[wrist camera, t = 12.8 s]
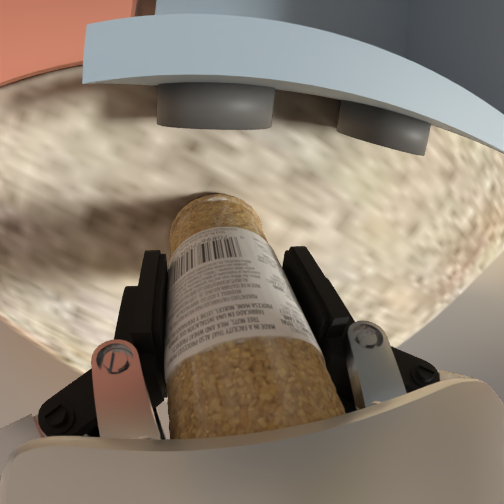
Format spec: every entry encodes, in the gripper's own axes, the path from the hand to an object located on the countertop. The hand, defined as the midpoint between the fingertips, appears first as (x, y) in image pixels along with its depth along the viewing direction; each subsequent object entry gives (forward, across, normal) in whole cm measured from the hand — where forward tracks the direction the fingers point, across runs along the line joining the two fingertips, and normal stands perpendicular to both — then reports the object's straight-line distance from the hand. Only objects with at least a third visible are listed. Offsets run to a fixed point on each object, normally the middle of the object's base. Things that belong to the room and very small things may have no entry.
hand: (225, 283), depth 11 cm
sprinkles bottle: (+4, 0, 0) cm, 4 cm away
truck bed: (+4, -3, -13) cm, 14 cm away
